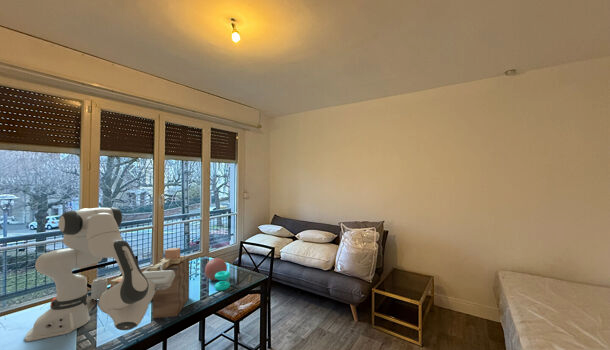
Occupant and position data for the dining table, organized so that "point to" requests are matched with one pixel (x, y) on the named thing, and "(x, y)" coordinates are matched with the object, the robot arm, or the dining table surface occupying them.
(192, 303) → the dining table surface
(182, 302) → the paper bag
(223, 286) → the donuts
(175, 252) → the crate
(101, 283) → the light grey block
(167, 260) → the pallet
